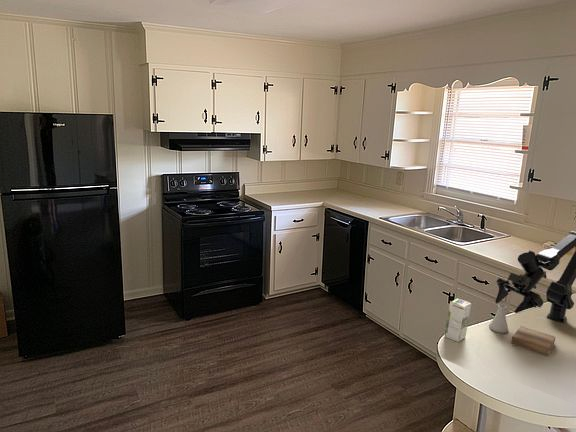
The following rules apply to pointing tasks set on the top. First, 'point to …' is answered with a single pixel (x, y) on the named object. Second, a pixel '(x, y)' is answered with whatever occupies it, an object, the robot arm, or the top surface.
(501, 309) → the flask
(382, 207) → the top surface
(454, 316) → the syrup box
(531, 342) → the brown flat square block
